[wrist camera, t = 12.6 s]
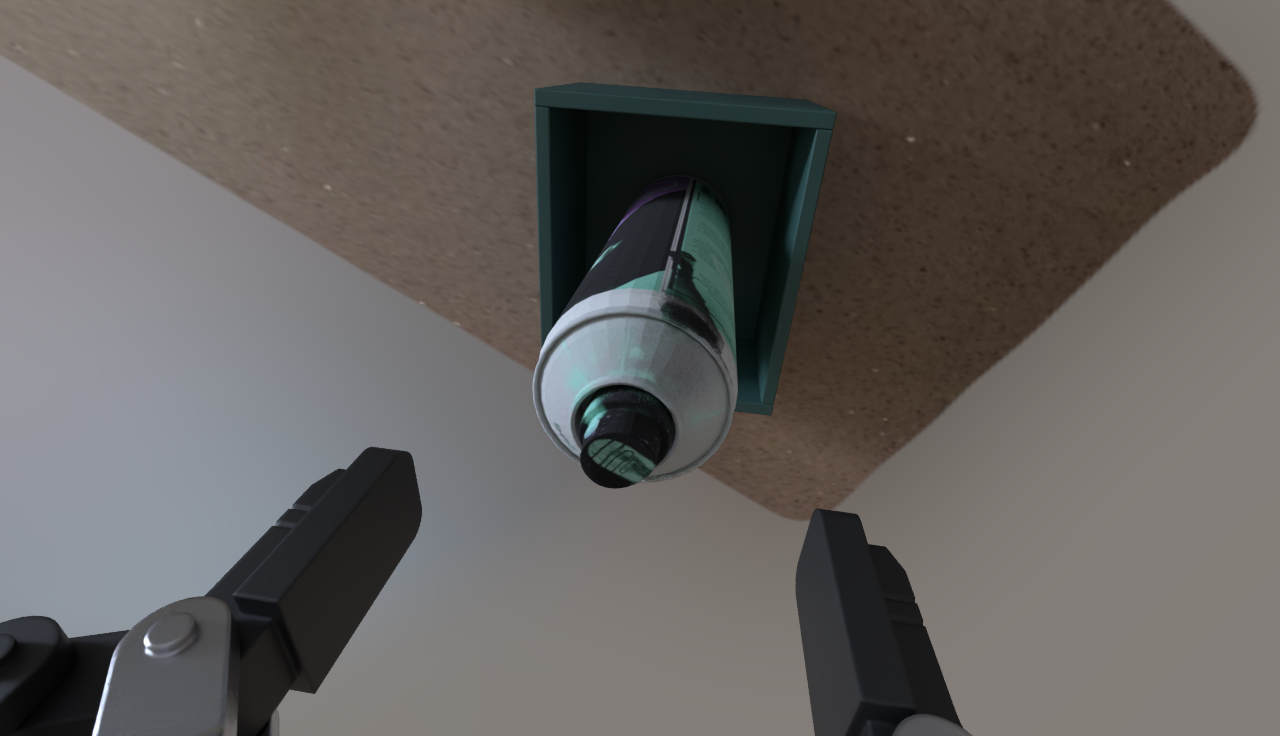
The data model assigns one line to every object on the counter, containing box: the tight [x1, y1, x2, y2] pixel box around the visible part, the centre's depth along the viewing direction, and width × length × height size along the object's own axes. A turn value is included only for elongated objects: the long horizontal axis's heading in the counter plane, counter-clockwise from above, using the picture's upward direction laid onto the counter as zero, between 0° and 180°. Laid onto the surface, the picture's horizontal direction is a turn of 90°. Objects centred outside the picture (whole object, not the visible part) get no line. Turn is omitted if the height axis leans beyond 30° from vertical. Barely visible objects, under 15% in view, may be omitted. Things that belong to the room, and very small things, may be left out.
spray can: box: [533, 174, 738, 488], centre depth 21 cm, size 6×6×20 cm
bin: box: [534, 83, 836, 415], centre depth 27 cm, size 13×11×8 cm
